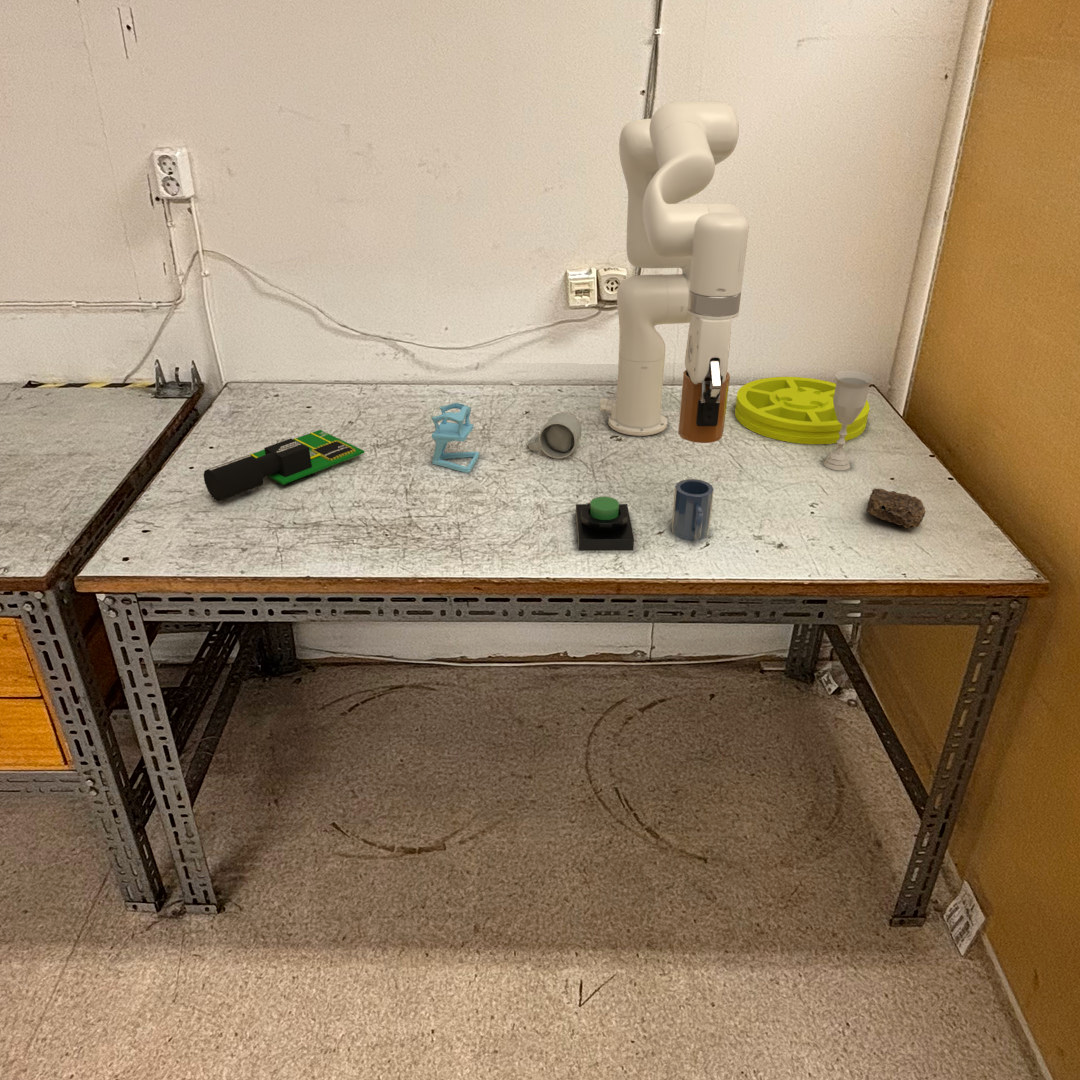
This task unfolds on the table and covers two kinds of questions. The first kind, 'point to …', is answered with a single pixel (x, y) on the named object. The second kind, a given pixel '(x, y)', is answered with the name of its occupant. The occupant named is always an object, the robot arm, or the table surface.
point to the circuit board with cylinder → (278, 464)
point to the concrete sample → (896, 508)
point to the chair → (452, 436)
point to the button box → (604, 531)
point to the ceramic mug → (558, 436)
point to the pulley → (794, 410)
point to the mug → (692, 509)
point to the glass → (689, 412)
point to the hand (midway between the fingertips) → (702, 414)
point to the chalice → (847, 410)
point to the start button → (604, 508)
